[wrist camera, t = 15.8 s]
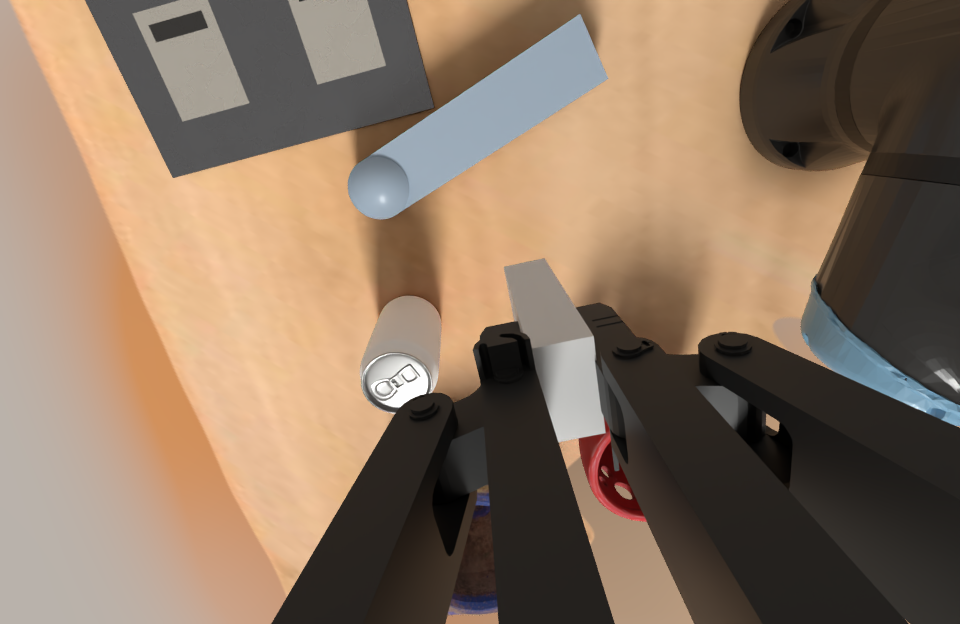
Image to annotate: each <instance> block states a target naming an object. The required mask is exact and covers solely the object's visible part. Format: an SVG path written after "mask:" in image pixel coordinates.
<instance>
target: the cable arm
mask: <svg viewBox="0 0 960 624" xmlns="http://www.w3.org/2000/svg"><path fill="white" fill-rule="evenodd" d="M607 79H608V77H607V75H606V72H605V70H604V68H603V65H602V63H601V61H600V59H599V56H598V54H597V52H596V49H595V47H594V45H593V42H592V40H591V38H590V35H589V33H588V31H587V28H586V26H585V24H584V22H583V19H582V17H581V15H580V14H579V15H577V16H576V17H575V18H573V19H572V20H570V21H569V22H567V23H566V24H564V25H563V26H561V27H560V28H558V29H557V30H555V31H554V32H552V33H551V34H549V35H548V36H546V37H545V38H543V39H542V40H540V41H539V42H537V43H536V44H534V45H533V46H531V47H530V48H529V49H527V50H526V51H524V52H523V53H521V54H520V55H518V56H517V57H515V58H514V59H512V60H511V61H509V62H508V63H506V64H505V65H503V66H502V67H500V68H499V69H497V70H496V71H494V72H493V73H491V74H490V75H488V76H487V77H485V78H484V79H483V80H481V81H480V82H478V83H477V84H475V85H474V86H472V87H471V88H469V89H468V90H466V91H465V92H463V93H462V94H460V95H459V96H457V97H456V98H454V99H453V100H451V101H450V102H448V103H447V104H445V105H444V106H442V107H441V108H439V109H438V110H437V111H435V112H434V113H432V114H431V115H429V116H428V117H426V118H425V119H423V120H422V121H420V122H419V123H417V124H416V125H414V126H413V127H411V128H410V129H408V130H407V131H405V132H404V133H402V134H401V135H399V136H398V137H396V138H395V139H393V140H392V141H391V142H389V143H388V144H386V145H385V146H383V147H382V148H380V149H379V150H377V151H376V152H374V153H373V154H371V155H370V156H368V157H367V158H365V159H364V160H362V161H361V162H359V163H358V164H357V165H356V166H355V167H354V168H353V170H352V171H351V173H350V176H349V180H348V192H349V196H350V199H351V201H352V203H353V204H354V206H355V207H356V208H357V209H358V210H359V211H360V212H361V213H363V214H364V215H366V216H368V217H370V218H374V219H388V218H391V217H393V216H395V215H397V214H398V213H400V212H401V211H403V210H404V209H406V208H408V207H409V206H411V205H412V204H414V203H415V202H417V201H418V200H420V199H422V198H423V197H425V196H426V195H428V194H429V193H431V192H432V191H434V190H436V189H437V188H439V187H440V186H442V185H443V184H445V183H447V182H448V181H450V180H451V179H453V178H454V177H456V176H457V175H459V174H461V173H462V172H464V171H465V170H467V169H468V168H470V167H471V166H473V165H475V164H476V163H478V162H479V161H481V160H482V159H484V158H485V157H487V156H489V155H490V154H492V153H493V152H495V151H496V150H498V149H499V148H501V147H503V146H504V145H506V144H507V143H509V142H510V141H512V140H514V139H515V138H517V137H518V136H520V135H521V134H523V133H524V132H526V131H528V130H529V129H531V128H532V127H534V126H535V125H537V124H538V123H540V122H542V121H543V120H545V119H546V118H548V117H549V116H551V115H552V114H554V113H556V112H557V111H559V110H560V109H562V108H563V107H565V106H566V105H568V104H570V103H571V102H573V101H574V100H576V99H577V98H579V97H581V96H582V95H584V94H585V93H587V92H588V91H590V90H591V89H593V88H595V87H596V86H598V85H599V84H601V83H602V82H604V81H605V80H607Z"/></svg>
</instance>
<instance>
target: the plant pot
mask: <svg viewBox="0 0 960 624" xmlns="http://www.w3.org/2000/svg"><path fill="white" fill-rule="evenodd" d="M604 424H605V432H606V433H604V434H598V435H593V436H588V437H583V438H579V448H580V454H581V459H582V463H583V467H584V470H585V473H586V476H587V479H588V482H589V484H590V487H591V489H592V491H593V493H594V495H595V496H596V498H597V499H598V500H599V502H600V503H602V505H603V506H605V507H606V508H607V509H608V510H610V511H611V512H613V513H615V514H617V515H619V516H621V517H624V518H627V519H631V520H637V521H645V522H647V521H646V519H645V517H644V514H643V512H642V510H641V508H640V506H639V504H638V502H637V499H636V497H635V495H634V493H633V491H632V489H631V487H630V484H629V482H628V480H627V478H626V476H625V474H624V472H623V469H622V467H621V465H620V463H619V471H615V470H614V463H613V454H612V446H611V438H610V429H609V426H608V424H607V422H606V420H605V418H604ZM601 469H603V470H604V471H605V472H606V473H607V474H608V476H609V478H608V477H607V476H605V475H604V474H603V472H602V470H601ZM615 485H618V486H621V487H623V488H625V489H627V490H628V491H629V492H630V493H631V495H632V499H631V500H629V499H625V498H623V497H622V496H621V495H620V494H619V493H618V492H617V491H616V489H615V487H614V486H615Z"/></svg>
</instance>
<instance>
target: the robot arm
mask: <svg viewBox="0 0 960 624" xmlns="http://www.w3.org/2000/svg"><path fill="white" fill-rule="evenodd" d="M740 111H741V118H742V122H743V126H744V129H745V132H746V134H747V136H748V138H749V140H750V142H751V143H752V145H753V146H754V148H755V149H756V150H757V151H758V152H759V153H760V154H761V155H762V156H763V157H765V158H766V159H767V160H769V161H770V162H772V163H774V164H776V165H779V166H781V167H785V168H790V169H797V170H805V171H827V170H834V169H838V168H842V167H845V166H849V165H852V164H856V163H859V162H862V161H866V160H867V162H866V164H865V166H864V169H863V171H862V173H861V175H860V177H859V179H858V182H857V184H856V186H855V189H854V191H853V193H852V196H851V198H850V201H849V203H848V205H847V208H846V210H845V213H844V215H843V217H842V220H841V222H840V224H839V227H838V229H837V232H836V234H835V236H834V239H833V241H832V243H831V245H830V248H829V250H828V252H827V254H826V257H825V259H824V261H823V263H822V265H821V268H820V270H819V272H818V274H816V275H815V277H814V278H813V280H812V282H811V294H810V297H809V300H808V303H807V305H806V308H805V311H804V313H803V316H802V320H801V333H802V336H803V338H804V340H805V342H806V344H807V345H808V346H809V347H810V349H811V351H812V352H813V353H814V355H815V356H817V358H819V359H820V360H821V361H822V362H823V363H824V364H825V365H826V366H828V367H829V368H830V369H831V370H829V369H827V368H825V367H823V366H820V365H818V364H816V363H814V362H811V361H809V360H807V359H805V358H802V357H800V356H798V355H796V354H794V353H791V352H789V351H787V350H785V349H782V348H780V347H778V346H776V345H773V344H771V343H769V342H767V341H765V340H762V339H760V338H758V337H755V336H751V335H748V334H742V333H737V332H728V333H727V332H722V333H719V334H714V335H710V336H708V337H706V338H704V339H702V340H701V342H700V343H699V344H698V354H691V355H669V354H666V353H665V352H664V351H663V350H662V349H661V348H660V347H659V345H657V344H656V343H655V342H653V341H652V340H648V339H645V338H639V337H636V336H635V335H634V334H633V333H632V332H631V330H630V329H629V328H628V327H627V326H626V324H625V323H624V322H623V321H622V320H621V318H620V317H619V316H618V315H617V314H616V312H615V311H614V310H613V309H612V308H611V307H609V306H606V305H604V304H601V303H596V304H591V305H586V306H581V307H575V306H574V304H573V303H572V301H571V299H570V298H569V296H568V295H567V293H566V292H565V290H564V288H563V287H562V285H561V284H560V282H559V280H558V279H557V277H556V276H555V274H554V273H553V271H552V269H551V268H550V266H549V265H548V263H547V262H546V260H545V258H543V259H539V260H534V261H529V262H525V263H520V264H515V265H510V266H506V267H504V271H505V276H506V281H507V286H508V291H509V296H510V301H511V306H512V312H513V317H514V322H510V323H505V324H500V325H495V326H490V327H486V328H485V329H484V331H483V332H482V334H481V335H480V340H479V341H478V342H477V343H476V344H475V346H474V349H473V352H474V356H475V361H476V365H477V369H478V373H479V377H480V382H481V386H480V387H479V388H478V389H477V390H476V392H474V393H473V394H471V395H470V396H468V397H466V398H464V399H462V400H460V401H457V402H455V403H453V401H452V400H451V398H450V397H449V396H447V395H445V394H442V393H428V394H421V395H418V396H416V397H414V398H412V399H410V400H409V401H407V402H406V403H404V404H403V405H402V406H401V407H400V408H399V409H398V410H397V411H396V413H395V415H394V417H393V418H392V420H391V422H390V423H389V425H388V427H387V428H386V430H385V432H384V434H383V435H382V437H381V439H380V440H379V442H378V444H377V445H376V447H375V449H374V450H373V452H372V454H371V456H370V457H369V459H368V461H367V462H366V464H365V466H364V467H363V469H362V471H361V473H360V474H359V476H358V478H357V479H356V481H355V483H354V484H353V486H352V488H351V490H350V491H349V493H348V495H347V496H346V498H345V500H344V501H343V503H342V505H341V506H340V508H339V510H338V512H337V513H336V515H335V517H334V518H333V520H332V522H331V523H330V525H329V527H328V529H327V530H326V532H325V534H324V535H323V537H322V539H321V540H320V542H319V544H318V545H317V547H316V549H315V551H314V552H313V554H312V556H311V557H310V559H309V561H308V562H307V564H306V566H305V568H304V569H303V571H302V573H301V574H300V576H299V578H298V579H297V581H296V583H295V585H294V586H293V588H292V590H291V591H290V593H289V595H288V596H287V598H286V600H285V601H284V603H283V605H282V607H281V608H280V610H279V612H278V613H277V615H276V617H275V618H274V620H273V622H272V624H445V623H446V619H447V615H448V611H449V607H450V603H451V599H452V595H453V592H454V588H455V584H456V580H457V576H458V572H459V568H460V564H461V560H462V556H463V552H464V549H465V545H466V541H467V537H468V533H469V529H470V525H471V521H472V517H473V513H474V509H475V505H476V502H477V489H479V488H481V487H483V486H485V485H488V488H489V501H490V514H491V528H492V541H493V554H494V567H495V580H496V594H497V607H498V619H499V624H615V623H614V620H613V617H612V614H611V610H610V607H609V604H608V601H607V598H606V594H605V591H604V588H603V585H602V582H601V578H600V575H599V572H598V568H597V565H596V562H595V559H594V556H593V552H592V549H591V546H590V543H589V539H588V536H587V533H586V530H585V527H584V523H583V520H582V517H581V514H580V510H579V507H578V504H577V501H576V498H575V494H574V491H573V488H572V485H571V481H570V478H569V475H568V472H567V469H566V465H565V462H564V459H563V456H562V452H561V449H560V446H559V443H558V442H562V441H567V440H572V439H578V438H583V437H588V436H593V435H598V434H604V433H606V432H605V424H604V418H605V420H606V422H607V424H608V426H609V429H610V438H611V446H612V454H613V463H614V470H615V471H619V463H620V465H621V467H622V469H623V472H624V474H625V476H626V478H627V480H628V482H629V484H630V487H631V489H632V491H633V493H634V495H635V497H636V499H637V502H638V504H639V506H640V508H641V510H642V512H643V514H644V517H645V519H646V521H647V523H648V525H649V527H650V529H651V531H652V534H653V536H654V538H655V540H656V542H657V545H658V547H659V549H660V551H661V553H662V555H663V557H664V559H665V562H666V564H667V566H668V568H669V570H670V572H671V575H672V576H673V579H674V581H675V583H676V585H677V587H678V590H679V592H680V594H681V596H682V598H683V600H684V603H685V604H686V606H687V609H688V611H689V613H690V615H691V617H692V620H693V622H694V624H908V623H907V621H908V622H909V623H910V624H960V428H959V427H957V426H960V0H790V1H789V2H788V3H787V4H786V5H785V6H783V7H782V8H781V9H780V10H779V11H778V12H777V13H776V15H775V16H774V17H773V18H772V19H771V20H770V22H769V23H768V24H767V26H766V27H765V28H764V30H763V31H762V33H761V34H760V36H759V37H758V39H757V41H756V43H755V45H754V47H753V49H752V51H751V53H750V55H749V58H748V61H747V63H746V66H745V70H744V73H743V78H742V83H741V90H740ZM832 370H833V371H832ZM766 413H767V414H768V415H770V416H772V417H773V418H775V419H776V420H778V421H779V422H780V424H779V431H778V432H777V431H775V430H773V429H771V428H770V427H768V426H766ZM906 620H907V621H906Z"/></svg>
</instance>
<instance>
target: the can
mask: <svg viewBox="0 0 960 624" xmlns="http://www.w3.org/2000/svg"><path fill="white" fill-rule="evenodd" d="M440 346H441V318H440V315H439V313H438V311H437V310H436V308H435V307H434V306H433V305H432V304H431V303H430V302H428V301H427V300H425V299H423V298H420V297H417V296H401V297H398V298H395V299H393V300H392V301H390V302H389V303H388V304H387V305H386V306H385V307H384V308H383V310H382V311H381V313H380V316H379V318H378V320H377V323H376V325H375V328H374V330H373V333H372V335H371V338H370V340H369V343H368V345H367V348H366V350H365V353H364V356H363V358H362V361H361V366H360V378H361V387H362V391H363V393H364V395H365V397H366V398H367V400H368V401H369V402H370V403H371V404H372V405H373V406H375V407H376V408H378V409H380V410H382V411H385V412H388V413H396V411H397V410H398V409H399V408H400V407H401V406H402V405H403V404H404V403H406V402H407V401H409V400H410V399H412V398H414V397H416V396H418V395H421V394H428V393H432V391H433V390H434V388H435V386H436V383H437V380H438V374H439V361H440Z"/></svg>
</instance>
